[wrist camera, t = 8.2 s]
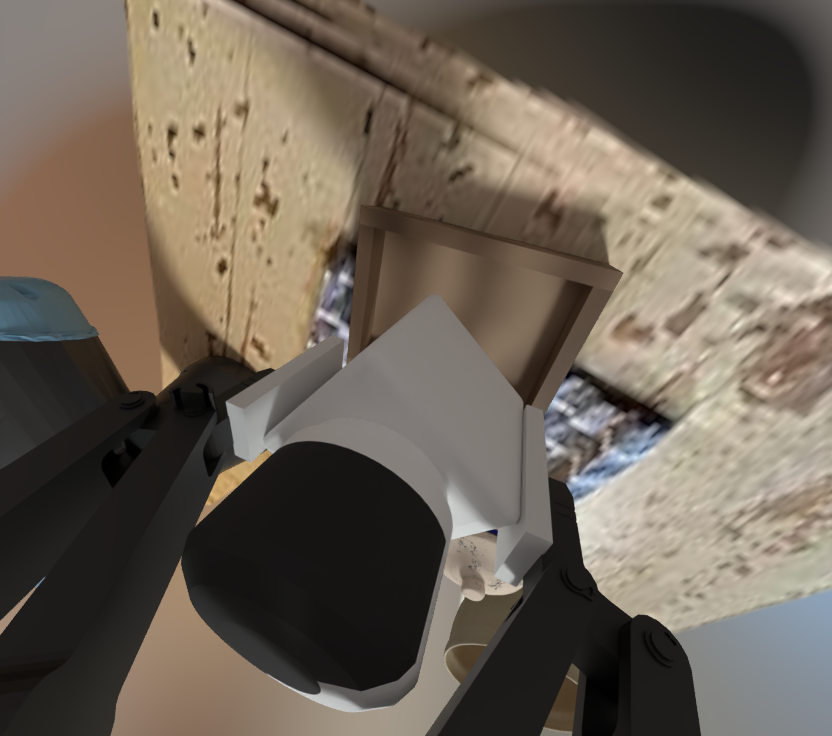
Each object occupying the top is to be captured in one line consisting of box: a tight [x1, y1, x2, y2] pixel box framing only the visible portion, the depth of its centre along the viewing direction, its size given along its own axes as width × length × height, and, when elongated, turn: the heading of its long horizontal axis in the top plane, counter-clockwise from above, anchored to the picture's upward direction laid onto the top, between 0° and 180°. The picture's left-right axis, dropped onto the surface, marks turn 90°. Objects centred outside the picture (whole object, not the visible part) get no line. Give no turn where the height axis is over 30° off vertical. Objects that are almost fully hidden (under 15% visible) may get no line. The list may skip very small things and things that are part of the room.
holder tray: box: [346, 205, 623, 416], centre depth 25 cm, size 18×14×4 cm
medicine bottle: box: [181, 294, 523, 712], centre depth 11 cm, size 7×7×12 cm
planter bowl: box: [444, 587, 579, 733], centre depth 36 cm, size 16×16×11 cm
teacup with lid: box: [443, 528, 523, 601], centre depth 30 cm, size 12×9×12 cm
